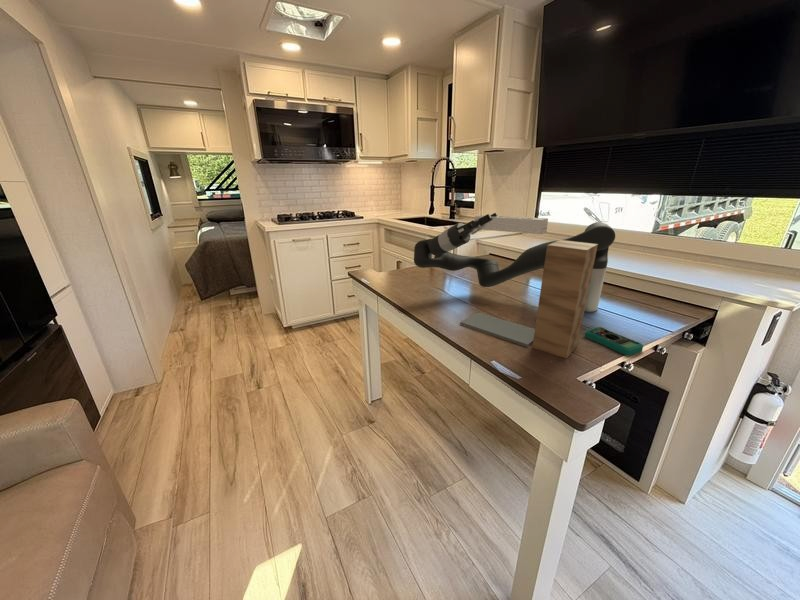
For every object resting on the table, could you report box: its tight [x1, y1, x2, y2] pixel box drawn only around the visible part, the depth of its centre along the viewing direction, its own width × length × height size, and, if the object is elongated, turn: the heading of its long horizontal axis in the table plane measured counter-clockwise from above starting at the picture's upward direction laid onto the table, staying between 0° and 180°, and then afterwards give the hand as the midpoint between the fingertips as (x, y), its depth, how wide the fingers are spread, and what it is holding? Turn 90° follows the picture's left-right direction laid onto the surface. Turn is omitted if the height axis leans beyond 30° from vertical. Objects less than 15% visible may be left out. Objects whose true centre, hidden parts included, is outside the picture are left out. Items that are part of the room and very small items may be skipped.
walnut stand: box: [531, 239, 598, 359], centre depth 95 cm, size 10×10×32 cm
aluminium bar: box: [474, 214, 549, 235], centre depth 101 cm, size 4×22×4 cm, turn 46°
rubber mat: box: [459, 312, 535, 348], centre depth 113 cm, size 12×25×1 cm, turn 46°
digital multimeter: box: [584, 326, 644, 357], centre depth 102 cm, size 7×15×3 cm, turn 25°
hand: (493, 216), depth 103 cm, fingers closed on aluminium bar, 4 cm apart
